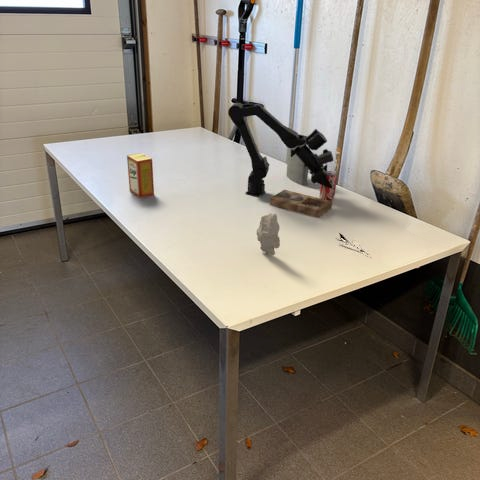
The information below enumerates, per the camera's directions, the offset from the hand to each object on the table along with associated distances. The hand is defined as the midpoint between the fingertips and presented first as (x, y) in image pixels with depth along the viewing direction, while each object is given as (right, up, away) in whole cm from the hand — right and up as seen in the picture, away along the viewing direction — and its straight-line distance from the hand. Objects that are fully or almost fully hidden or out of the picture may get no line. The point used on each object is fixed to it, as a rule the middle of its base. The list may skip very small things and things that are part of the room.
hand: (331, 185), depth 200 cm
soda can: (-2, -6, +3) cm, 7 cm away
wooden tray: (-14, -9, -4) cm, 17 cm away
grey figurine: (-29, -27, -42) cm, 58 cm away
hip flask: (-12, +5, +24) cm, 28 cm away
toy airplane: (0, -25, -34) cm, 42 cm away
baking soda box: (-80, -3, +5) cm, 80 cm away
